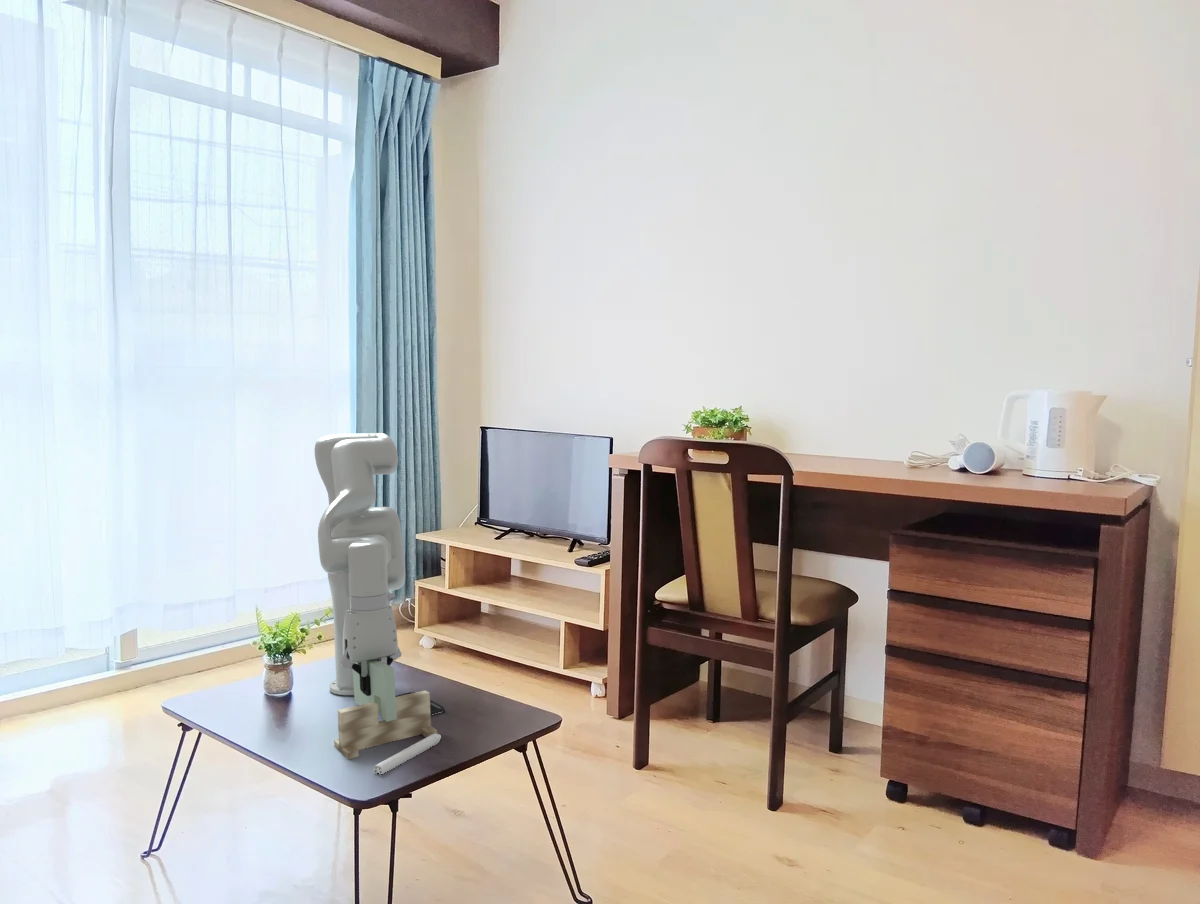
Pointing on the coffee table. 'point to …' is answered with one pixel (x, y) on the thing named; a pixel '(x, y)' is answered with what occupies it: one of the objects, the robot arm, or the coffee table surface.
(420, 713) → the slotted wooden stand
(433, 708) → the phone
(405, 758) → the marker
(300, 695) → the coffee table surface
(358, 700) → the mint green slab
